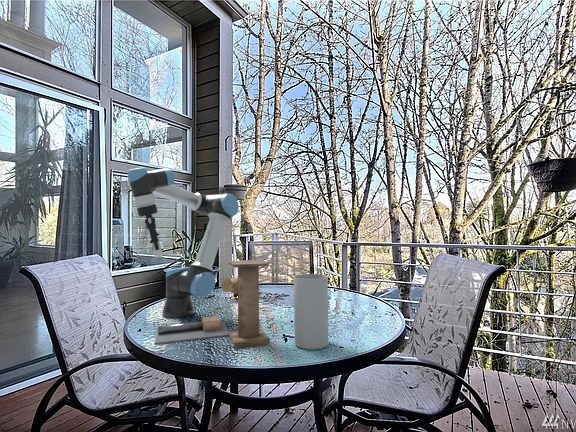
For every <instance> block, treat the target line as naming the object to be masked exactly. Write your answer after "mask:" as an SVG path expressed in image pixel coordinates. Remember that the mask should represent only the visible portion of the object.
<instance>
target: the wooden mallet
mask: <svg viewBox="0 0 576 432" xmlns="http://www.w3.org/2000/svg"><path fill="white" fill-rule="evenodd" d="M220 320H221V319H220V316H219V315H211V316H202V317H201V321H197V322H196V321H195V323H194V322H187V323H186V322H185V324H184V323H175V325H174V324H165V326H164V325H158V334H163V333H172V332H181V331H190V330H199V329H203V331H212V330H220Z"/></svg>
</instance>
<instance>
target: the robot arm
mask: <svg viewBox="0 0 576 432" xmlns="http://www.w3.org/2000/svg"><path fill="white" fill-rule="evenodd" d="M127 178H128V182H129V185H130V188H131V193H132V195H133V200H132V202H133V203H135V206H136V207H137V208H136V211H137V215H138V216H139V217H145V219H144V223H145V225H146V228H147V230H148V232H149V236H150V241H149V244H152V247H153V252H154V256H155V259H158V258H161V257H164V255H163V251H162V246H161V243H160V238H159V236H160V233H159V232H158V231H157V229H156V228H157V224H156V218H155V217H153V215H154V214H157V213H158V208H157V205H156V204H155V203H156V200H155V196H154V195H156V196H160V197H161V198H164V199H167V200H170V201H172V202H174V203H178V204H181V205H183V206H185V207H188V208H189V209H190V210H191V211H194V212H196V213H199V214H201V215H204V216H207V217H208V218H209V221H208V224H207V226H206V228H205V229H206V230H205V232H204V234H203V235H204V236H203V238H202V240H201V244H200V247H199V250H198V252H197V256H196V258H195V260H194V262H193V263H191V264H190V266H185V267H177V268H169V269H167V270H166V273H165V289H166V290H165V301H164V305H163V307H162V310H161V311H162V314H161V315H162V317H164V318H169V319H179V318H184V317H185V318H187V317H189V316H191V315H193V314H195V307H194V305H193V302H192V298H191V296H192V297H195V298H196V297H197V298H198V297H203V298H204V297H207V296H208V295H210V294H211V293H212V291H214V288H215V287H216V286H215V285H216V278H215V275H214V272H215V271H214V268H213V265H214V263H215V260H216V259H215V258H216V256H217V253H218V250H219V247H220V244H221V240H222V238H223V234H224V231H225V228H226V225H227V224H228V223H230V221H231V219H232V217H234V216H236V215H237V214H238V212H239V208H240V207H239V206H240V205H239V202H238V200H237V197H236V196H235V195H233V194H232V193H220V194H219V193H218V194H203V193H202V194H201V193H199V192H196V193H194V192H192V191H189V190H187V189H185V188H182V187H179V186H178V185H175V184H174V183H175V181H176V177H175V173H174V172H173V170H172V169H170V168H162V169H156V170H150V171H148V170H147V168H146V167H137V168H131V169H129V170H128V171H127Z"/></svg>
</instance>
